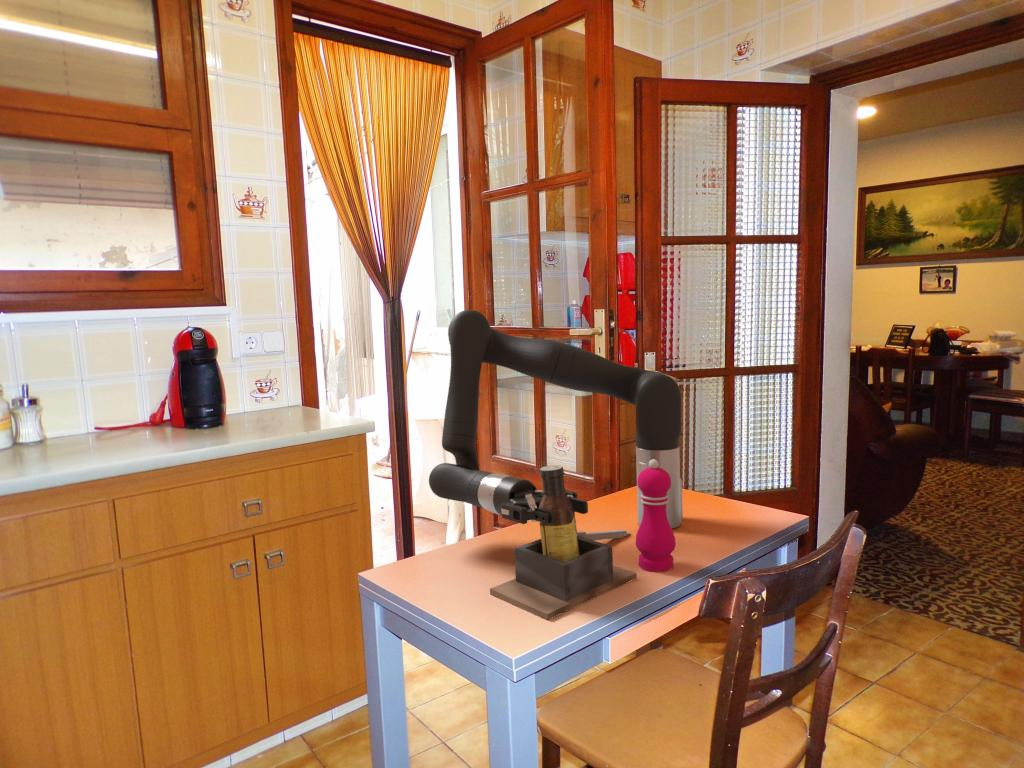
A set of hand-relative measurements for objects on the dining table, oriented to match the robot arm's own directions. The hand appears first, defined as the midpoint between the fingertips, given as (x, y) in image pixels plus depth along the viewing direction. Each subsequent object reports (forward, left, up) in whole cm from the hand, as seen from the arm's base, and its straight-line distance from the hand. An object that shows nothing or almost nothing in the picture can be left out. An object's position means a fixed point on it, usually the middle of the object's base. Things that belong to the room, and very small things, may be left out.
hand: (570, 513), depth 114 cm
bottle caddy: (0, -2, -13) cm, 14 cm away
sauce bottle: (0, -2, -12) cm, 13 cm away
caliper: (-18, -11, -14) cm, 26 cm away
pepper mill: (-18, +4, -14) cm, 23 cm away
